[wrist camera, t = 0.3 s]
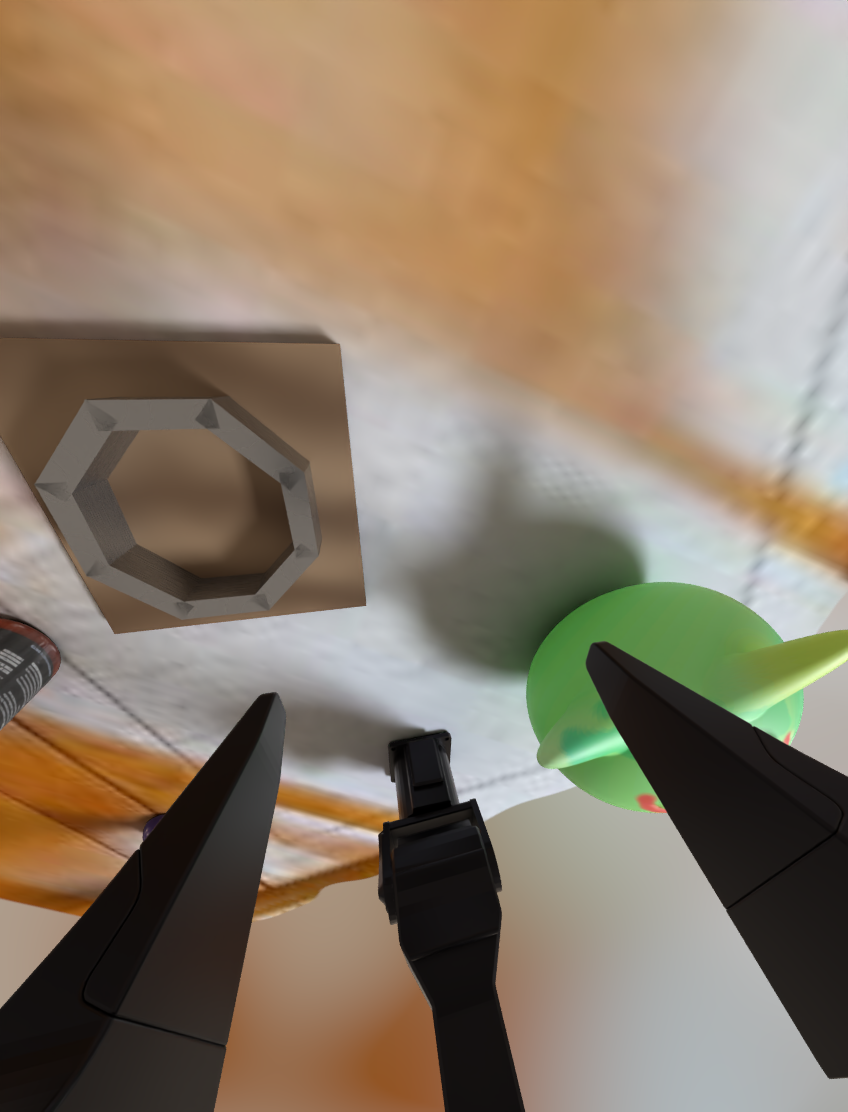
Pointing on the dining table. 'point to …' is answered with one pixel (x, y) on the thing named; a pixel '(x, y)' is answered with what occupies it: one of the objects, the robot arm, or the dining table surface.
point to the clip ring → (102, 529)
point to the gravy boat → (678, 652)
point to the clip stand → (199, 459)
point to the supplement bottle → (23, 666)
